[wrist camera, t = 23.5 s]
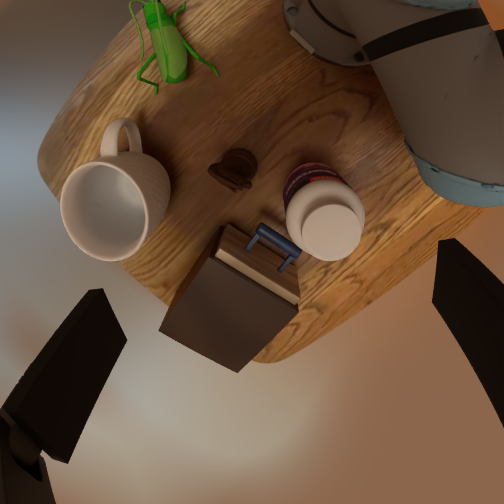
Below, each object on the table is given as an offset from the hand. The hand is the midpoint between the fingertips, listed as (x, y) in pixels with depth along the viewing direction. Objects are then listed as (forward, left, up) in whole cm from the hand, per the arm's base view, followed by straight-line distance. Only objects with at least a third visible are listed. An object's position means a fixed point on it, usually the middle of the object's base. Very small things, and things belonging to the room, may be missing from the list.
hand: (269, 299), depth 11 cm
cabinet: (+18, +6, -31) cm, 36 cm away
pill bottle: (0, +7, -31) cm, 32 cm away
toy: (-6, -19, -31) cm, 37 cm away
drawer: (+14, +6, -30) cm, 34 cm away
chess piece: (+3, -3, -31) cm, 31 cm away
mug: (+11, -13, -31) cm, 35 cm away
